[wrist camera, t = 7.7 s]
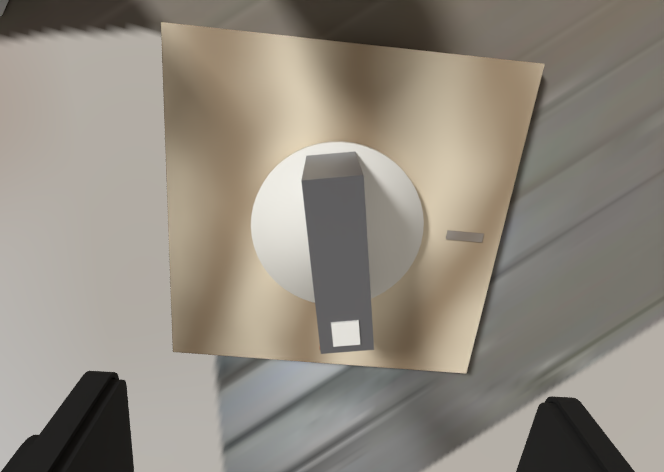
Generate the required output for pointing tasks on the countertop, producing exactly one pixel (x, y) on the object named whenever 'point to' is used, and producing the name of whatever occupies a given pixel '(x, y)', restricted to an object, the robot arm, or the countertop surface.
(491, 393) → the countertop surface
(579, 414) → the robot arm
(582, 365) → the countertop surface
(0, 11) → the skincare box
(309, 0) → the countertop surface
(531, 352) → the countertop surface
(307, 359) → the dial plate
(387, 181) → the dial knob
